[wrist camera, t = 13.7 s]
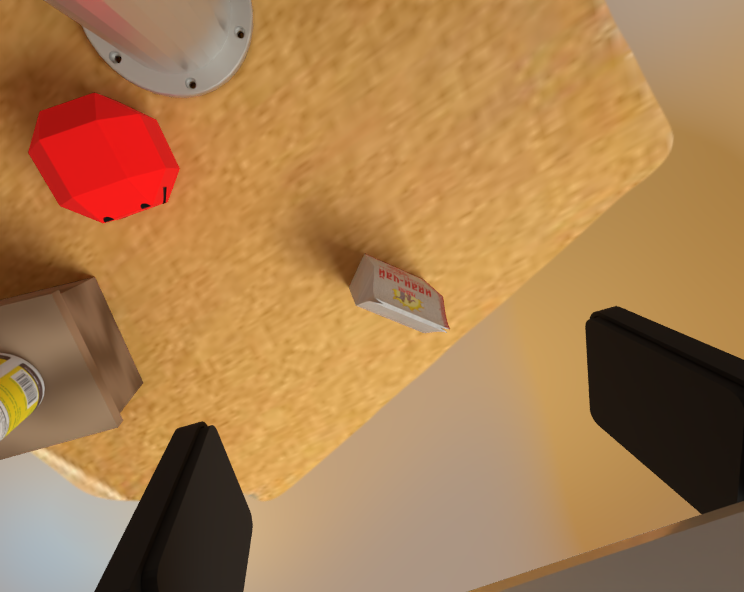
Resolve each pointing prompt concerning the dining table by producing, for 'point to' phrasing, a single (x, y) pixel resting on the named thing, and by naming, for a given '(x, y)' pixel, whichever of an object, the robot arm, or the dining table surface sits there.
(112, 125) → the ball
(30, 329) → the walnut box
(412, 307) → the white carton
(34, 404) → the supplement bottle
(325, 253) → the dining table surface
